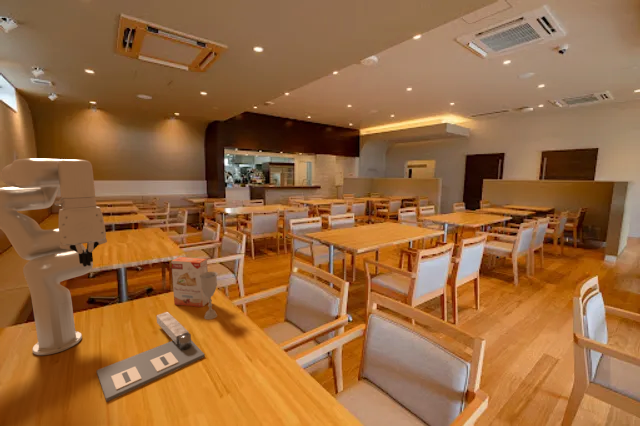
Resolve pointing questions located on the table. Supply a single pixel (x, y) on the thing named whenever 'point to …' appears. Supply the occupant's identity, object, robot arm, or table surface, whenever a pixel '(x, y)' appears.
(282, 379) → the table surface
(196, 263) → the cracker box
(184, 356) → the label board
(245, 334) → the table surface
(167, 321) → the swing bar
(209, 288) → the chalice
